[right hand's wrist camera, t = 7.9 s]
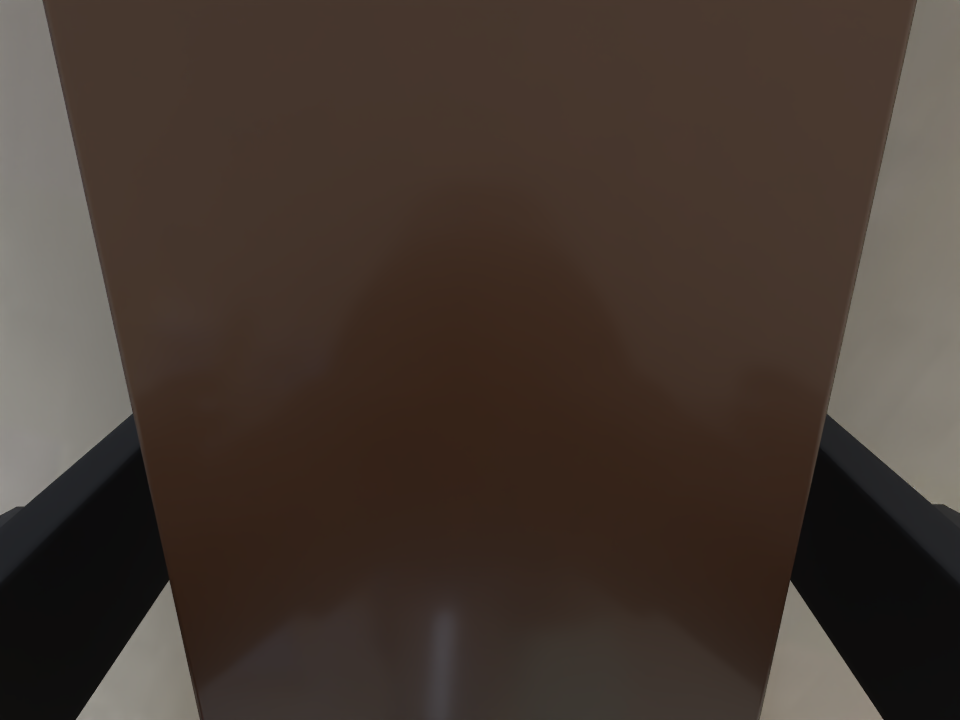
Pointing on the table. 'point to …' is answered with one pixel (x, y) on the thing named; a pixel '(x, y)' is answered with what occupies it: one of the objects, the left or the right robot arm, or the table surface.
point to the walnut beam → (479, 333)
